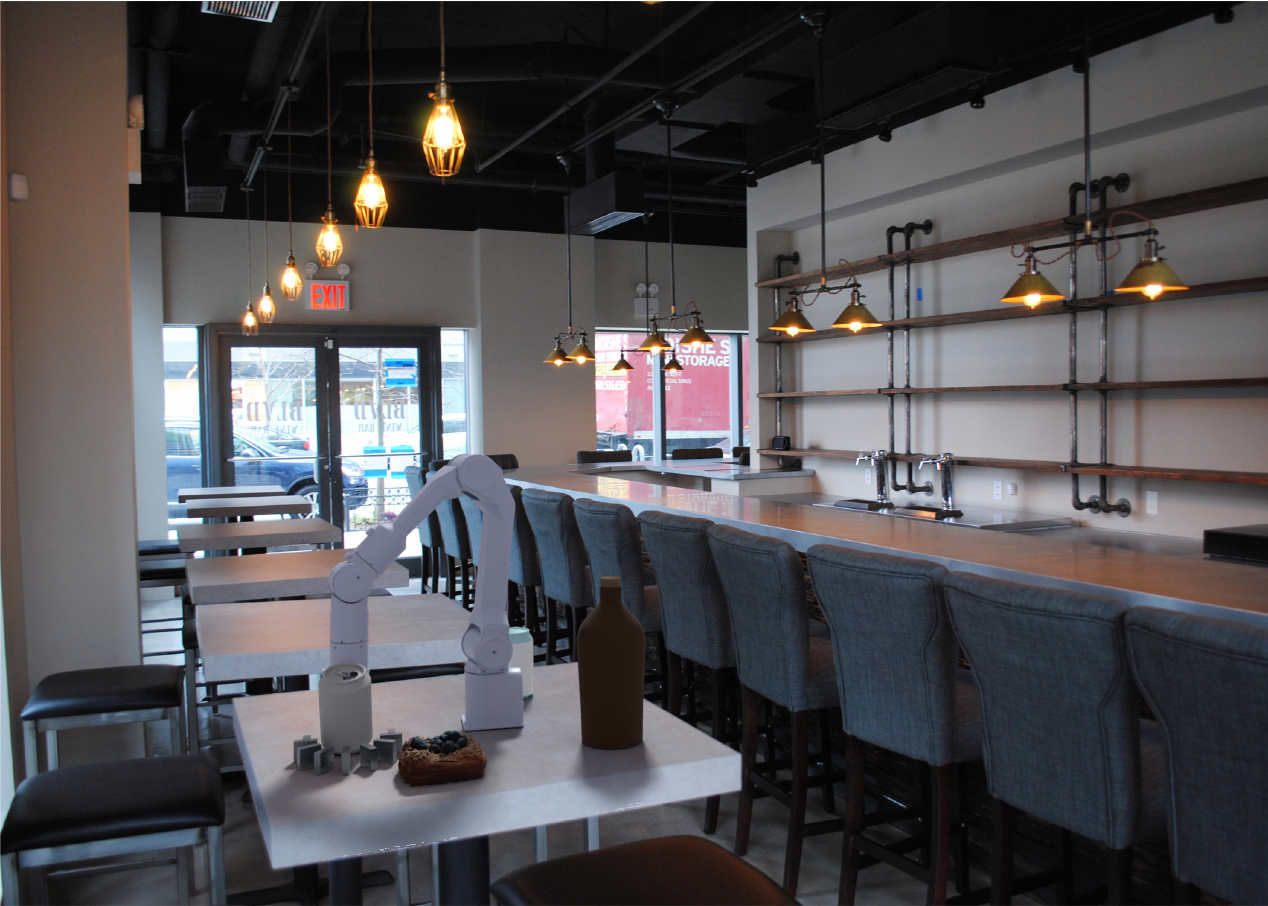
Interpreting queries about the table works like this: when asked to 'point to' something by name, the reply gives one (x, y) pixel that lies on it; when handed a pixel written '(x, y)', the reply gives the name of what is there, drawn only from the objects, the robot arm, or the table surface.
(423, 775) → the pastry
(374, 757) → the ring collar
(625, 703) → the olive oil
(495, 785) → the table surface
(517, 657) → the can
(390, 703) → the table surface
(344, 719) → the can
